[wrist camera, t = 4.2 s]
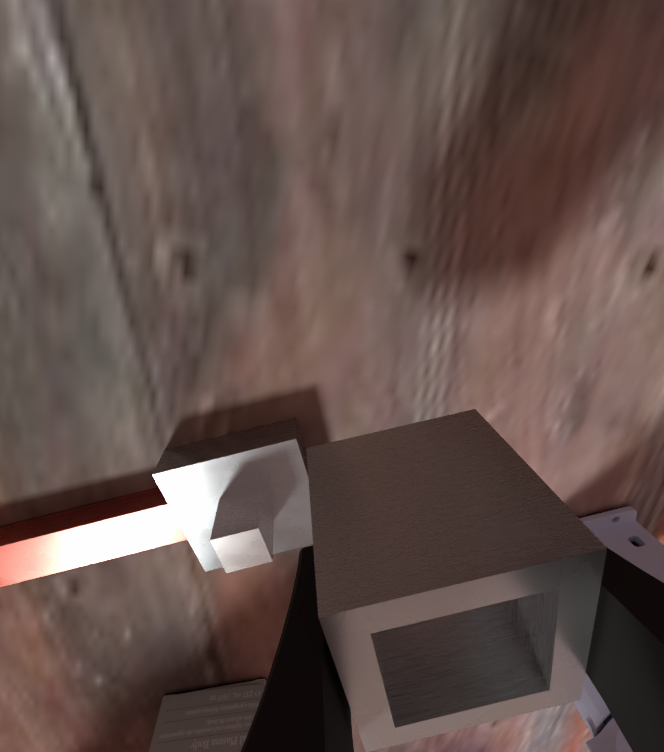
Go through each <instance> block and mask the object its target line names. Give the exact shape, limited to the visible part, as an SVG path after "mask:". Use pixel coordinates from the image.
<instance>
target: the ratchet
mask: <svg viewBox="0 0 664 752" xmlns="http://www.w3.org/2000/svg"><path fill="white" fill-rule="evenodd" d="M152 476H153V477H154V479H155V481H156V483H157V485H158V486H159V487H158V488H154V489H150V490H146V491H142V492H138V493H134V494H130V495H126V496H122V497H118V498H114V499H110V500H106V501H102V502H98V503H94V504H90V505H86V506H82V507H78V508H74V509H70V510H67V511H63V512H59V513H55V514H51V515H47V516H43V517H39V518H35V519H31V520H27V521H23V522H19V523H15V524H11V525H7V526H3V527H0V587H2V586H6V585H10V584H14V583H18V582H22V581H26V580H30V579H34V578H38V577H42V576H46V575H49V574H53V573H57V572H61V571H65V570H69V569H73V568H77V567H81V566H85V565H89V564H93V563H97V562H101V561H105V560H108V559H112V558H116V557H120V556H124V555H128V554H132V553H136V552H140V551H144V550H148V549H152V548H156V547H160V546H164V545H167V544H171V543H175V542H179V541H183V540H187V539H188V541H189V543H190V545H191V546H192V548H193V550H194V552H195V554H196V556H197V557H198V559H199V561H200V563H201V565H202V566H203V568H204V570H205V572H206V571H209V570H213V569H217V568H221V567H224V569H225V571H226V573H229V572H233V571H237V570H241V569H245V568H248V567H252V566H256V565H260V564H264V563H268V562H272V561H273V554H276V553H280V552H284V551H288V550H291V549H295V548H299V547H303V546H307V545H311V544H313V535H312V521H311V507H310V493H309V479H308V465H307V455H306V452H305V449H304V445H303V442H302V439H301V435H300V432H299V429H298V426H297V422H296V419H295V418H293V419H289V420H285V421H280V422H276V423H272V424H268V425H264V426H260V427H256V428H252V429H248V430H244V431H240V432H235V433H231V434H227V435H223V436H219V437H215V438H211V439H207V440H203V441H199V442H195V443H191V444H186V445H182V446H178V447H174V448H170V449H166V450H164V452H163V454H162V456H161V458H160V460H159V462H158V464H157V466H156V468H155V470H154V472H153V474H152Z"/></svg>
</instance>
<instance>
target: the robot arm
mask: <svg viewBox="0 0 664 752" xmlns="http://www.w3.org/2000/svg"><path fill="white" fill-rule="evenodd" d="M636 517H637V511H636V510H635V509H634V508H632V507H630V506H628V507H623V508H619V509H615V510H611V511H607V512H603V513H599V514H595V515H591V516H587V517H583V518H579V519H580V520H581V521H582V522H583V523H584V524H585V525H586V526H587V527H588V529H589V530H590V531H591V532H592V533H593V534H594V535H595V536H596V537H597V538H598V539H599V540H600V541H601V542H602V543H603V544H604V545H605V546H606V547H607V553H606V558H605V564H604V570H603V576H602V581H601V587H600V593H599V598H598V604H597V610H596V615H595V621H594V627H593V633H592V638H591V644H590V650H589V655H588V661H587V667H586V673H585V678H584V684H583V690H582V695H581V700H578V701H574V702H573V703H574V705H575V706H576V708H577V710H578V711H579V713H580V715H581V717H582V718H583V720H584V722H585V723H586V725H587V727H588V729H589V730H590V732H591V734H592V736H593V737H594V738H592V739H591V740H589V741H587V742H586V745H587V747H588V749H589V751H590V752H664V545H663V544H662V543H661V542H660V541H658V540H657V539H656V538H655V537H654V536H653V535H652V534H651V533H649V532H648V531H647V530H646V529H645V528H644V527H643V526H642V525H640V524H639V523H638V522H637V521H636ZM241 752H354V749H353V739H352V726H351V711H350V706H349V703H348V700H347V697H346V694H345V691H344V689H343V686H342V683H341V680H340V677H339V675H338V672H337V669H336V666H335V663H334V660H333V658H332V655H331V652H330V649H329V646H328V643H327V641H326V638H325V635H324V632H323V629H322V626H321V624H320V621H319V618H318V606H317V591H316V577H315V563H314V549H313V546H309V547H305V548H302V550H301V551H300V554H299V562H298V568H297V573H296V579H295V583H294V588H293V592H292V597H291V601H290V605H289V609H288V613H287V616H286V620H285V624H284V628H283V631H282V635H281V639H280V642H279V645H278V648H277V651H276V655H275V658H274V661H273V664H272V667H271V670H270V674H269V677H268V680H267V683H266V686H265V688H264V691H263V694H262V697H261V700H260V703H259V705H258V708H257V711H256V714H255V716H254V719H253V721H252V724H251V727H250V729H249V732H248V734H247V737H246V740H245V742H244V744H243V747H242V749H241Z"/></svg>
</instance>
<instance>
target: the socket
mask: <svg viewBox="0 0 664 752" xmlns="http://www.w3.org/2000/svg"><path fill="white" fill-rule="evenodd" d="M306 451H307V465H308V479H309V493H310V507H311V521H312V535H313V549H314V563H315V577H316V591H317V606H318V618H319V621H320V624H321V626H322V629H323V632H324V635H325V638H326V641H327V643H328V646H329V649H330V652H331V655H332V658H333V660H334V663H335V666H336V669H337V672H338V675H339V677H340V680H341V683H342V686H343V689H344V691H345V694H346V697H347V700H348V703H349V706H350V708H351V711H352V714H353V717H354V720H355V723H356V725H357V728H358V731H359V734H360V737H361V740H362V742H363V745H364V748H365V751H366V752H370V751H374V750H378V749H382V748H386V747H390V746H394V745H398V744H402V743H406V742H410V741H414V740H418V739H423V738H427V737H431V736H435V735H439V734H443V733H447V732H451V731H455V730H459V729H463V728H467V727H472V726H476V725H480V724H484V723H488V722H492V721H496V720H500V719H504V718H508V717H512V716H516V715H521V714H525V713H529V712H533V711H537V710H541V709H545V708H549V707H553V706H557V705H561V704H565V703H570V702H574V701H578V700H581V695H582V690H583V684H584V678H585V673H586V667H587V661H588V655H589V650H590V644H591V638H592V633H593V627H594V621H595V615H596V610H597V604H598V598H599V593H600V587H601V581H602V576H603V570H604V564H605V558H606V553H607V547H606V546H605V545H604V544H603V543H602V542H601V541H600V540H599V539H598V538H597V537H596V536H595V535H594V534H593V533H592V532H591V531H590V530H589V529H588V527H587V526H586V525H585V524H584V523H583V522H582V521H581V520H580V519H579V518H578V517H577V516H576V515H575V514H574V513H573V512H572V511H571V510H570V509H569V507H568V506H567V505H566V504H565V503H564V502H563V501H562V500H561V499H560V498H559V497H558V496H557V495H556V494H555V493H554V492H553V491H552V490H551V488H550V487H549V486H548V485H547V484H546V483H545V482H544V481H543V480H542V479H541V478H540V477H539V476H538V475H537V474H536V473H535V472H534V471H533V470H532V468H531V467H530V466H529V465H528V464H527V463H526V462H525V461H524V460H523V459H522V458H521V457H520V456H519V455H518V454H517V453H516V452H515V451H514V449H513V448H512V447H511V446H510V445H509V444H508V443H507V442H506V441H505V440H504V439H503V438H502V437H501V436H500V435H499V434H498V433H497V432H496V431H495V429H494V428H493V427H492V426H491V425H490V424H489V423H488V422H487V421H486V420H485V419H484V418H483V417H482V416H481V415H480V414H479V413H478V412H477V410H476V409H473V410H469V411H464V412H460V413H456V414H451V415H447V416H443V417H438V418H434V419H430V420H426V421H421V422H417V423H413V424H408V425H404V426H400V427H396V428H391V429H387V430H383V431H378V432H374V433H370V434H366V435H361V436H357V437H353V438H348V439H344V440H340V441H335V442H331V443H327V444H323V445H318V446H314V447H310V448H306Z"/></svg>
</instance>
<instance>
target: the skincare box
mask: <svg viewBox="0 0 664 752" xmlns="http://www.w3.org/2000/svg"><path fill="white" fill-rule="evenodd" d="M265 686H266V680H265V679H257V680H254V681H249V682H243V683H237V684H231V685H225V686H220V687H214V688H208V689H203V690H198V691H193V692H187V693H182V694H172V695H165V696H164V698H163V699H162V702H161V706H160V709H159V713H158V717H157V721H156V725H155V728H154V732H153V736H152V740H151V743H150V747H149V751H148V752H241V749H242V747H243V744H244V742H245V740H246V737H247V734H248V732H249V729H250V727H251V724H252V721H253V719H254V716H255V714H256V711H257V708H258V705H259V703H260V700H261V697H262V694H263V691H264V688H265Z"/></svg>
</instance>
